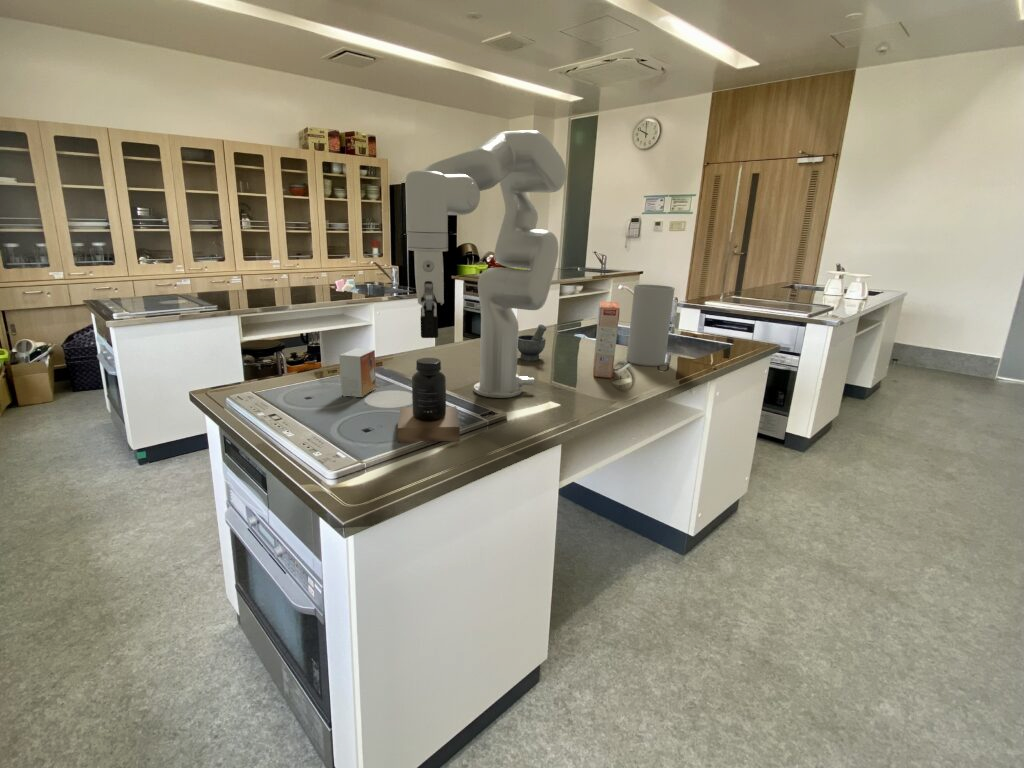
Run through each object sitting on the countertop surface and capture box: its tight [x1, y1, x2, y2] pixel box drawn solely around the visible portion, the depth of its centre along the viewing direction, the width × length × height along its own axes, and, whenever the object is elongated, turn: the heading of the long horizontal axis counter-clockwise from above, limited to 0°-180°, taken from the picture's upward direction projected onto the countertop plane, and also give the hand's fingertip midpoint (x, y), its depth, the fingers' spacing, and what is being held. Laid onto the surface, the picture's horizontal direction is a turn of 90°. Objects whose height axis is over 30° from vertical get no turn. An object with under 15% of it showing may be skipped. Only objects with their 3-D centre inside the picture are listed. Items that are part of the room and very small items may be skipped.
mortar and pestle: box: [518, 324, 547, 362], centre depth 168 cm, size 11×9×12 cm
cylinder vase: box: [626, 284, 675, 367], centre depth 168 cm, size 12×12×25 cm
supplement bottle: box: [411, 357, 447, 422], centre depth 104 cm, size 7×7×12 cm
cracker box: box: [593, 300, 621, 379], centre depth 154 cm, size 14×6×21 cm, turn 171°
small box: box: [338, 347, 377, 398], centre depth 127 cm, size 8×6×10 cm
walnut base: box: [397, 406, 461, 443], centre depth 106 cm, size 12×12×3 cm
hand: (429, 332), depth 101 cm, fingers open, 9 cm apart
